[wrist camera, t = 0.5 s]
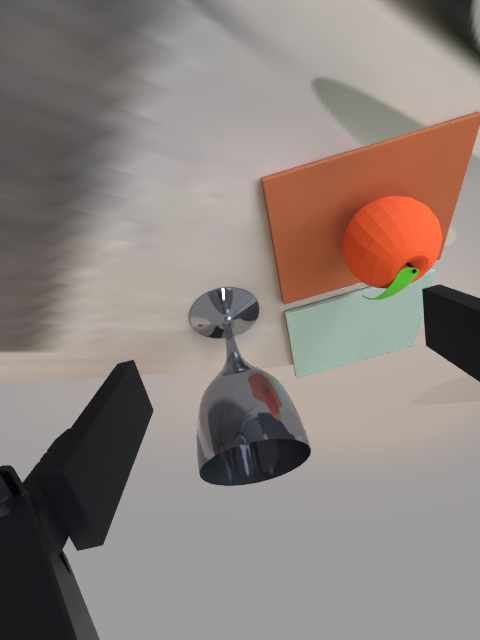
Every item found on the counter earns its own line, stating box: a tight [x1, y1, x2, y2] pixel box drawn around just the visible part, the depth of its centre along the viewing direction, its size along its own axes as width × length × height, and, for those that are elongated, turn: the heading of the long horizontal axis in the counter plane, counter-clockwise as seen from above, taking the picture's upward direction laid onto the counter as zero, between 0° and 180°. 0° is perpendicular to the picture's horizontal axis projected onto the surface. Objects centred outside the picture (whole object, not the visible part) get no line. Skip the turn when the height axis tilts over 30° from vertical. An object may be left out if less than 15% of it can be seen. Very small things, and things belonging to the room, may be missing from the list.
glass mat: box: [285, 269, 436, 378], centre depth 38 cm, size 13×16×1 cm
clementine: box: [342, 196, 442, 300], centre depth 25 cm, size 8×7×7 cm
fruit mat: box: [261, 112, 480, 304], centre depth 28 cm, size 13×16×1 cm
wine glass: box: [190, 288, 311, 486], centre depth 28 cm, size 8×8×15 cm
